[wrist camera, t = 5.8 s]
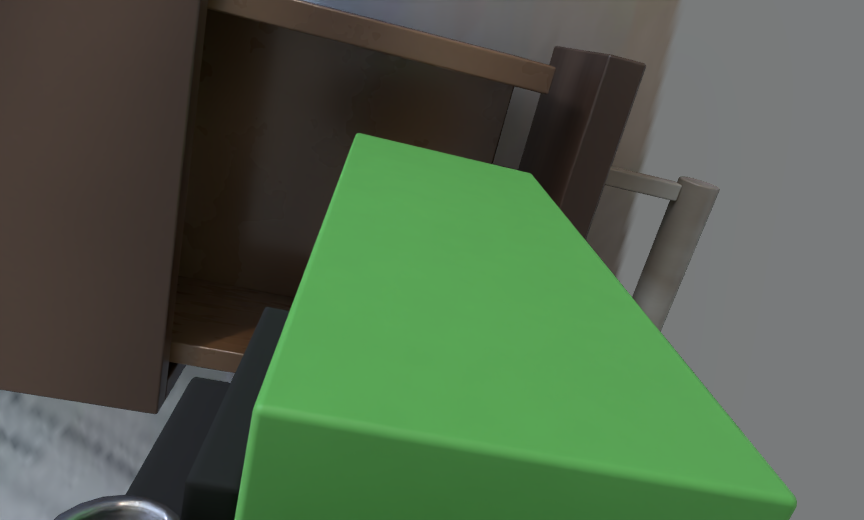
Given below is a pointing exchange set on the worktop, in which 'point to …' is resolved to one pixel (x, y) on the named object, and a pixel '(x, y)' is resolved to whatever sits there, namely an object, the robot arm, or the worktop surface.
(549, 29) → the worktop surface
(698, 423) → the green rectangular prism
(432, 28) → the worktop surface
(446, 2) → the worktop surface
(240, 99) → the drawer
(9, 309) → the cabinet
